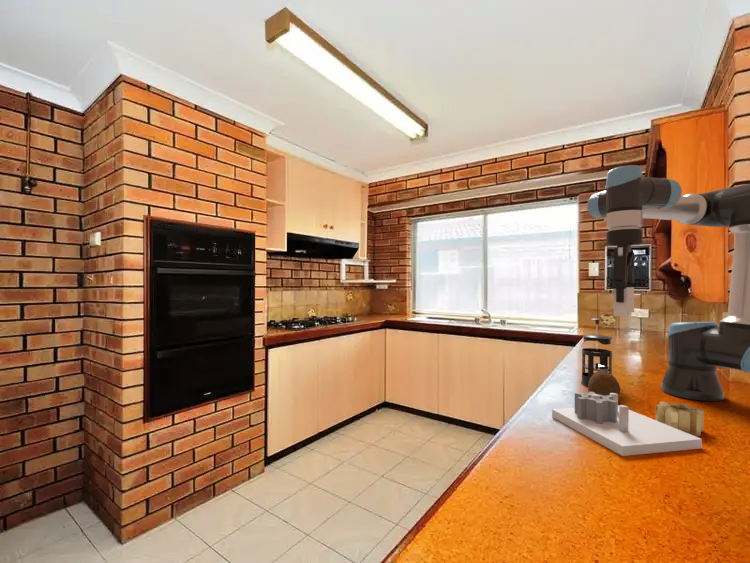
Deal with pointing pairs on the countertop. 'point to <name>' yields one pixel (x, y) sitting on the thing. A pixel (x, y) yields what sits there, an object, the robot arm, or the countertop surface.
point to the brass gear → (681, 417)
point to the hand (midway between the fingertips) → (624, 314)
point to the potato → (603, 384)
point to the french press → (591, 353)
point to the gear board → (636, 435)
